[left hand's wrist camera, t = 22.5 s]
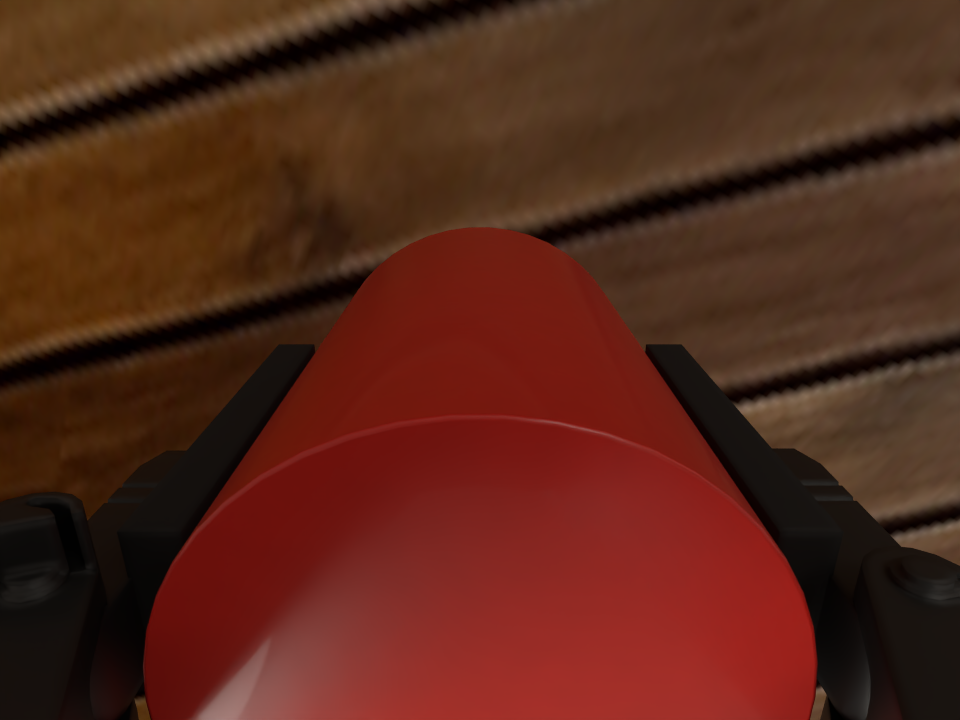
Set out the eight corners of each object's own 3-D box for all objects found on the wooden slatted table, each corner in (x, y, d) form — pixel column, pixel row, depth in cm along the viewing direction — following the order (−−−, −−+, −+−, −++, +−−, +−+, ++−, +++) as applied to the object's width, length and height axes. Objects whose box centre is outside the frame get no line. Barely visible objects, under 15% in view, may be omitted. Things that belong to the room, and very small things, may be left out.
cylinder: (678, 307, 15) (969, 591, 6) (539, 530, 18) (604, 977, 8) (405, 172, 14) (272, 280, 5) (296, 430, 16) (69, 820, 7)
